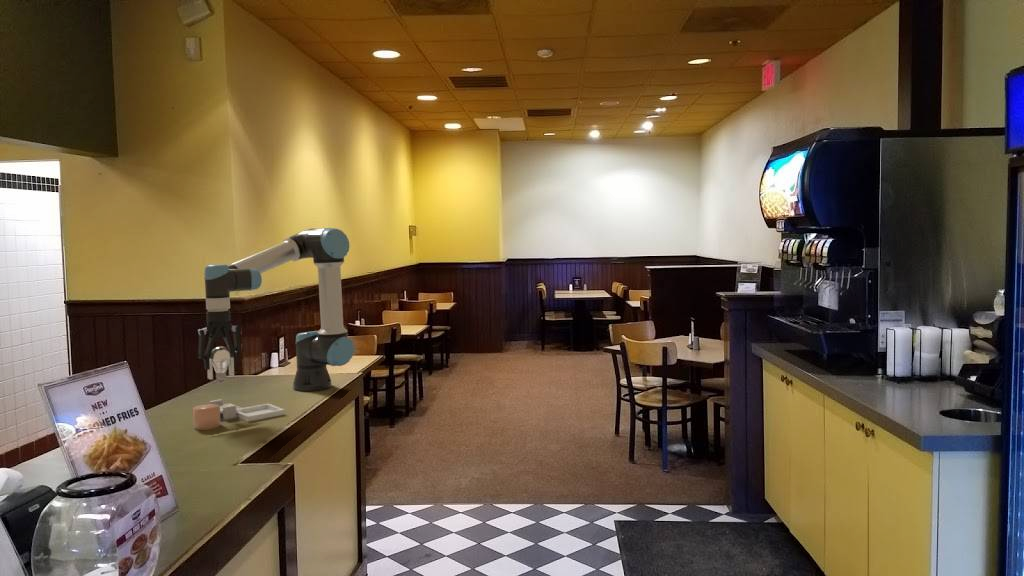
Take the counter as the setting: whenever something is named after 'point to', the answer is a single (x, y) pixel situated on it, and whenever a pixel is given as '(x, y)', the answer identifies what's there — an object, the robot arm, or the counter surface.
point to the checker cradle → (226, 411)
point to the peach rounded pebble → (206, 417)
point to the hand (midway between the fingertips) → (221, 377)
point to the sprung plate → (228, 405)
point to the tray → (260, 412)
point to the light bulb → (220, 361)
